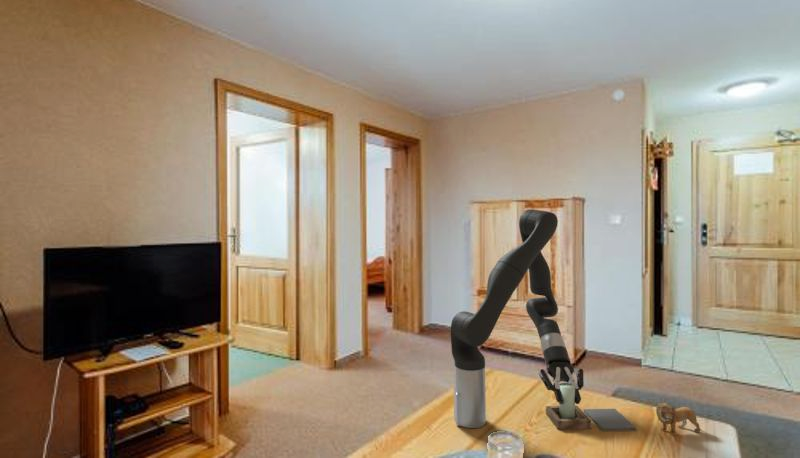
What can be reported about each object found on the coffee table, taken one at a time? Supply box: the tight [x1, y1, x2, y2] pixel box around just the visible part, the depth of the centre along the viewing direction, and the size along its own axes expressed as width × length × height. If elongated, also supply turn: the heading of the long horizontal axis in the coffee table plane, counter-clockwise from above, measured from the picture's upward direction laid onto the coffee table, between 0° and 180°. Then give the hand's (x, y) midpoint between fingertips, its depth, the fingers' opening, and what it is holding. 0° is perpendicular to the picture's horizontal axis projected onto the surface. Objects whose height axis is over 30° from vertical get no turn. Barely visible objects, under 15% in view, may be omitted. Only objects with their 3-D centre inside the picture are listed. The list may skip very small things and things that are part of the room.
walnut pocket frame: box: [545, 405, 592, 431], centre depth 126 cm, size 10×10×2 cm
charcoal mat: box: [582, 408, 637, 432], centre depth 126 cm, size 10×12×1 cm
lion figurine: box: [655, 402, 701, 437], centre depth 119 cm, size 15×5×9 cm, turn 109°
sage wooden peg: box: [558, 382, 576, 419], centre depth 126 cm, size 4×4×10 cm
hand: (569, 402), depth 124 cm, fingers closed on sage wooden peg, 4 cm apart
